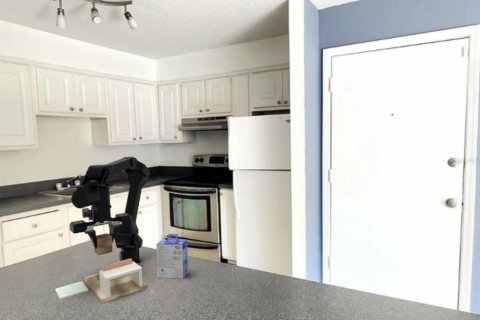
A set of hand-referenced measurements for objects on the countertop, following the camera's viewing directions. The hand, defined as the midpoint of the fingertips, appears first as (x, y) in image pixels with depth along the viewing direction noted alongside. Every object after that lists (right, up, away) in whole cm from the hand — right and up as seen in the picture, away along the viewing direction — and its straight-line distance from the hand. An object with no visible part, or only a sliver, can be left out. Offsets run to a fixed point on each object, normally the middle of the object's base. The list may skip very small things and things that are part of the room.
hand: (103, 247), depth 105 cm
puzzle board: (+5, -12, -2) cm, 13 cm away
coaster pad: (-8, -13, -6) cm, 16 cm away
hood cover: (+9, -11, -7) cm, 16 cm away
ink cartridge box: (+23, -12, +5) cm, 26 cm away
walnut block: (0, -2, 0) cm, 2 cm away
